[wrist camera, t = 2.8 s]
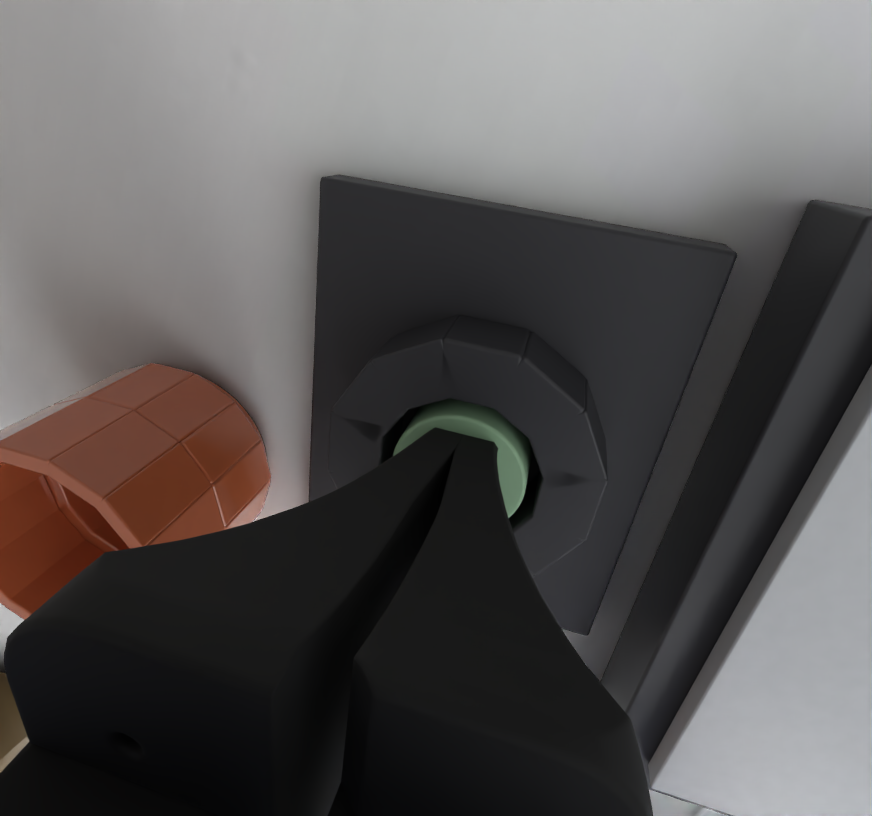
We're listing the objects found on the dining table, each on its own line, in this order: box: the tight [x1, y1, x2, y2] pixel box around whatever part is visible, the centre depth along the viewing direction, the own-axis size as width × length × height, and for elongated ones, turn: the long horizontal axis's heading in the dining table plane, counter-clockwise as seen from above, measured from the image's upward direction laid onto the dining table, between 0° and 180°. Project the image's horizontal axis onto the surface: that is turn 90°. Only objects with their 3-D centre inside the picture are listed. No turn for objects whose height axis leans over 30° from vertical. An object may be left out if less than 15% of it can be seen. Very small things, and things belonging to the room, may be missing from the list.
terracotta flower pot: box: [0, 363, 271, 620], centre depth 14 cm, size 5×6×5 cm
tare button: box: [393, 398, 533, 518], centre depth 12 cm, size 3×3×2 cm
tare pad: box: [309, 175, 737, 635], centre depth 12 cm, size 10×8×2 cm
